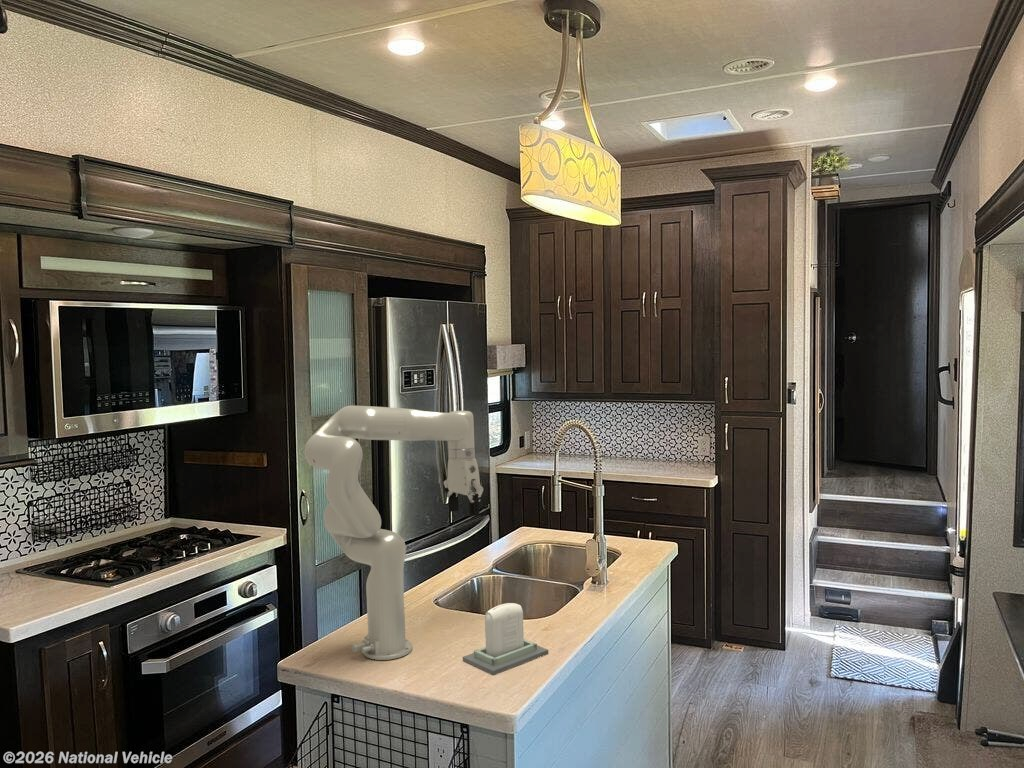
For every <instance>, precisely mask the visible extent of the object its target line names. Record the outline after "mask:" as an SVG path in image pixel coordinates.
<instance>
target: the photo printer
mask: <svg viewBox="0 0 1024 768" xmlns="http://www.w3.org/2000/svg"><path fill="white" fill-rule="evenodd" d="M484 630H485V631H484V632H485V634H484V635H485V647H486V654H487V655H490V656H492V657H494V658H495V657H498V656H500V655H503V654H506V653H509V652H511V651H514V650H517V649H519V648H522V647H524V639H525V638H524V637H525V636H524V610H523V607H522V605H520V604H518V603H515V602H507V603H501V604H498V605H496V606H494V607H492V608H490V609H489V610H488V611H486V612H485V615H484Z"/></svg>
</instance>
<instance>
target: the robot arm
mask: <svg viewBox="0 0 1024 768" xmlns="http://www.w3.org/2000/svg"><path fill="white" fill-rule="evenodd" d="M474 424H475V423H474V414H473V412H472V411H469V410H453V411H450V412H440V411H439V412H437V411H428V410H427V411H426V410H422V409H414V408H403V407H387V406H376V405H375V406H370V405H347V406H343V407H342V408H340V409H339V410H337V411H336V412H335V413H334V414H333V415H331V417H329V419H328V420H327V421H325V422H324V423H323V424H322V426H321V427H319V428H318V429H317V430H316V431H315V432H314V433H313V434H312V435H311V436H310V437H309V439H308V441H306V444H305V446H304V452H303V453H304V458H305V460H306V462H307V463H308V464H309V465H310V466H311V467H313V468H316V469H320V470H327V471H328V470H329V471H328V475H327V479H326V483H325V489H324V490H325V492H324V493H325V497H326V499H327V501H328V504H327V505H326V506H325V508H324V512H323V521H324V526H325V529H326V530H327V532H328V533H329V535H330V536H331V538H332V539H333V540H334V542H335V543H336V544H337V545H338V547H339V549H340V550H342V552H343V553H344V554H345V556H347V558H349V559H350V560H352V561H353V562H356V563H359V564H364V565H367V566H370V571H369V573H368V576H367V579H366V583H365V584H366V585H365V591H366V592H365V593H366V610H367V611H366V613H367V614H366V615H367V635H365V636H364V640H362V641H361V642H357V643H354V644H352V645H351V651H352V653H358V652H360V651H361V653H363V656H364V657H365V658H368V659H371V660H374V659H375V660H374V661H376V660H377V661H386V660H387V661H388V660H394V659H399V658H402V657H404V656H406V655H408V654H410V653H411V652H412V650H413V643H412V641H410V640H409V639H407V637H406V636H407V635H406V616H405V614H406V613H405V592H404V591H405V590H404V567H405V566H404V565H405V562H406V561H405V559H406V553H407V548H406V547H407V546H406V543H405V540H404V539H403V537H402V536H401V535H400V534H398V533H396V532H394V531H392V530H388V529H383V528H381V527H382V518H381V515H380V513H379V511H378V509H377V508H376V506H375V504H373V502H372V501H371V499H370V498H369V496H368V495H367V493H365V491H364V489H363V487H362V486H361V484H360V481H359V474H360V473H359V472H360V469H361V465H362V461H363V458H364V457H363V448H362V445H361V444H360V443H359V442H358V440H356V439H359V440H369V441H371V440H372V441H374V440H375V441H407V442H417V441H419V442H420V441H443V442H444V441H447V450H448V461H447V474H446V475H447V478H446V479H445V480H444V481H443V486H444V488H445V489H444V491H445V493H446V497H447V498H448V500H447V501H448V512H450V513H452V512H457V511H459V509H460V508H459V507H460V506H459V496H458V494H459V495H463V496H467V498H468V499H469V502H468V514H469V517H472V518H473V517H476V516H477V517H478V516H479V515H480V502H481V499H482V497H483V492H484V487H483V486H482V485H481V483H480V481H481V480H480V471H479V465H478V461H477V459H476V453H475V450H476V449H475V448H476V447H475V428H474V427H475V425H474Z"/></svg>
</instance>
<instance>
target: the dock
mask: <svg viewBox="0 0 1024 768" xmlns="http://www.w3.org/2000/svg"><path fill="white" fill-rule="evenodd" d="M548 654H549V649H547V648H545V647H542V646H540V645H538V643H535V642H532V641H530V640H528V639H526V638H524V647H522V648H519V649H517V650H514V651H511V652H509V653H506V654H503V655H500V656H498V657H495V658H494V657H492V656H490V655H487V654H486V646H483V647H481V648H478V649H475V650H473V652H472V653H469V654H467V655H464V656H462V662H465V663H467V664H469V665H471V666H473V667H475V668H478V669H480V670H482V671H484V672H486V673H488V674H489V675H492V676H495V675H497V674H500V673H503V672H505V671H508V670H510V669H513V668H515V667H518V666H520V665H523V664H526V663H528V662H532V661H533V660H535V659H539V658H541V657H543V655H544V656H546V655H548ZM540 656H541V657H540ZM538 657H539V658H538Z"/></svg>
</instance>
